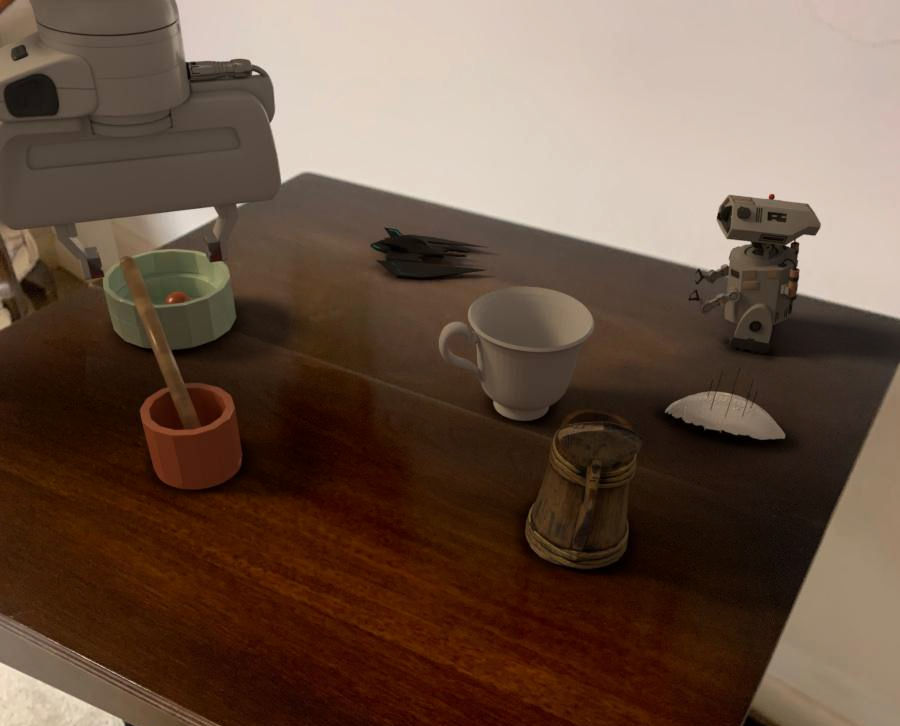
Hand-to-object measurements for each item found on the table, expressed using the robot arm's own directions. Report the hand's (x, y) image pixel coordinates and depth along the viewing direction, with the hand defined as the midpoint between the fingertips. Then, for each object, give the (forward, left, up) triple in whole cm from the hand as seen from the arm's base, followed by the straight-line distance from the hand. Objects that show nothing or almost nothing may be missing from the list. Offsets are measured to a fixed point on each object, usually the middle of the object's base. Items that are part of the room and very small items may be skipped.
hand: (156, 267), depth 69 cm
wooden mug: (+35, -7, -19) cm, 41 cm away
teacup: (+28, +14, -19) cm, 37 cm away
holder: (0, 0, -19) cm, 19 cm away
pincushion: (+50, +14, -19) cm, 55 cm away
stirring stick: (+2, -3, -16) cm, 17 cm away
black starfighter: (+16, +45, -19) cm, 51 cm away
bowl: (-10, +24, -19) cm, 32 cm away
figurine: (+53, +34, -19) cm, 66 cm away
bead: (-9, +24, -17) cm, 31 cm away
